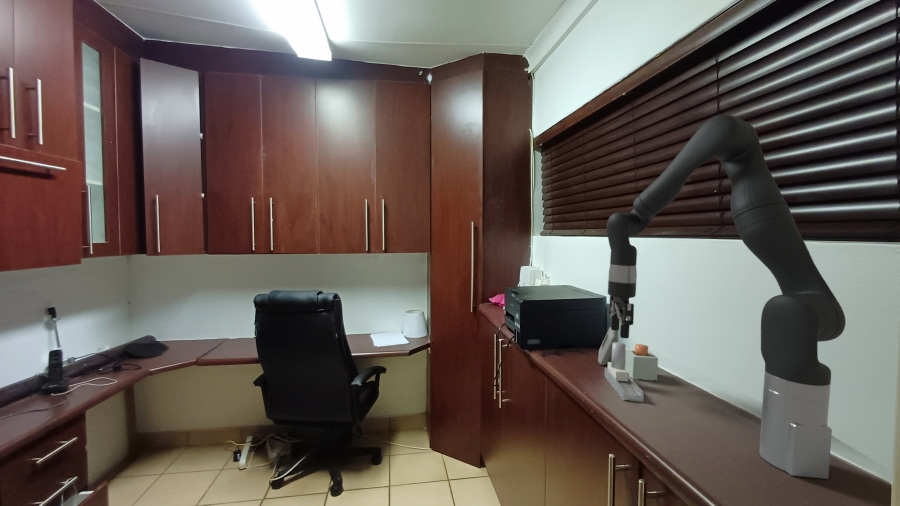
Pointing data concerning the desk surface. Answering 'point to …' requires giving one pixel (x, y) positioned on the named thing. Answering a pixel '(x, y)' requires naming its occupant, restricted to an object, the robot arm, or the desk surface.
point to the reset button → (641, 350)
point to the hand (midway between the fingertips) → (619, 333)
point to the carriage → (618, 362)
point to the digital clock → (607, 347)
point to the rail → (625, 388)
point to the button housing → (641, 365)
